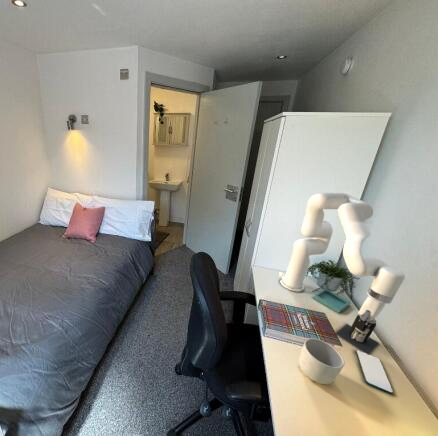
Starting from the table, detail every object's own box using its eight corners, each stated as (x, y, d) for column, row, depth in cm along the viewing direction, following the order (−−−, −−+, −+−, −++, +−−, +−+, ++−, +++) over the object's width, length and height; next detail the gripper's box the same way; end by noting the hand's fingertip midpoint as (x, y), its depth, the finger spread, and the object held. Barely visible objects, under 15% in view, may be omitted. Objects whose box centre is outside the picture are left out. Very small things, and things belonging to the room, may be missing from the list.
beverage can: (358, 332, 109) (369, 313, 104) (369, 344, 103) (381, 324, 98) (344, 330, 109) (354, 311, 105) (354, 342, 103) (365, 322, 99)
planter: (314, 355, 96) (323, 336, 92) (342, 386, 85) (353, 366, 81) (289, 358, 94) (296, 339, 90) (313, 390, 83) (323, 370, 79)
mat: (335, 333, 108) (335, 332, 108) (346, 324, 114) (347, 323, 114) (367, 354, 98) (368, 353, 98) (378, 343, 104) (378, 342, 104)
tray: (313, 298, 131) (314, 294, 130) (324, 291, 137) (325, 288, 136) (338, 313, 121) (340, 309, 120) (349, 305, 127) (350, 302, 126)
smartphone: (393, 395, 83) (378, 359, 96) (394, 393, 83) (379, 358, 96) (365, 383, 87) (354, 350, 100) (366, 381, 86) (355, 349, 99)
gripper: (376, 284, 104) (360, 314, 111) (360, 295, 96) (344, 327, 102) (399, 294, 98) (380, 325, 105) (384, 307, 90) (365, 340, 96)
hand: (363, 326), depth 103 cm, fingers closed on beverage can, 6 cm apart
